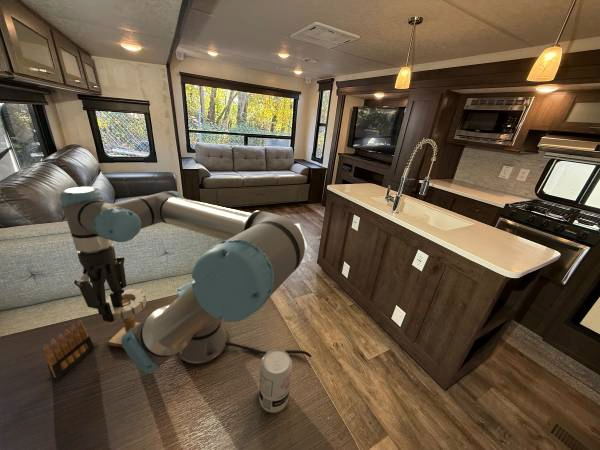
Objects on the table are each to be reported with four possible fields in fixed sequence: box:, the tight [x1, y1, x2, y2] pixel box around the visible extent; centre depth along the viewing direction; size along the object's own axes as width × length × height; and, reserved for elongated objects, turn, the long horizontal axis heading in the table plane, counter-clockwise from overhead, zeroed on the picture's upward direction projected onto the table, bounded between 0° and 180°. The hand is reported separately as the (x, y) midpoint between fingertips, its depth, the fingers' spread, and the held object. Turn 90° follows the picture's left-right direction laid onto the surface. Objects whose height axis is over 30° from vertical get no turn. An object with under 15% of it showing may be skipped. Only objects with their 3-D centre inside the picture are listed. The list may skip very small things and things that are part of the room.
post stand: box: [107, 299, 141, 349], centre depth 80 cm, size 9×9×14 cm
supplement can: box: [258, 348, 293, 414], centre depth 65 cm, size 8×8×15 cm
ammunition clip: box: [43, 319, 95, 380], centre depth 70 cm, size 11×2×12 cm, turn 169°
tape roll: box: [106, 288, 147, 321], centre depth 77 cm, size 11×11×3 cm
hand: (114, 315), depth 73 cm, fingers closed on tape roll, 3 cm apart
